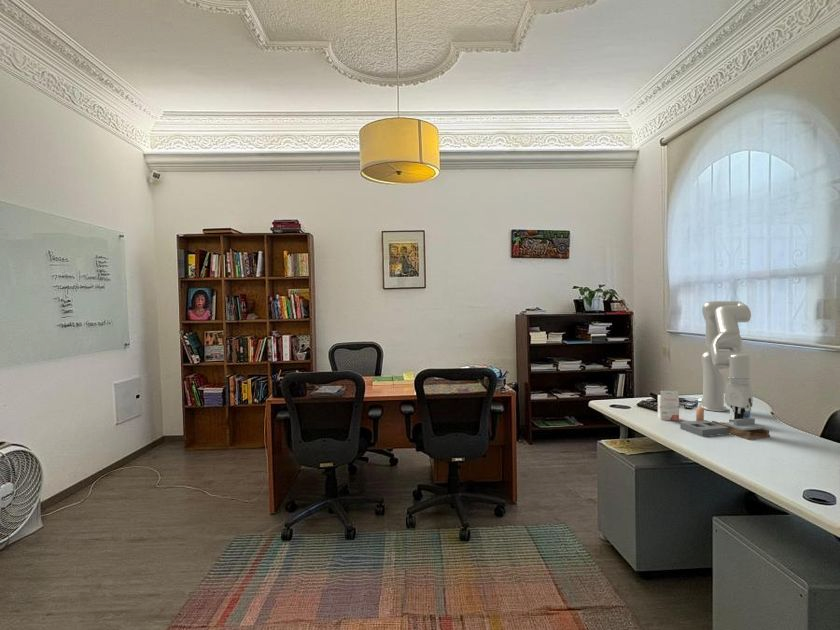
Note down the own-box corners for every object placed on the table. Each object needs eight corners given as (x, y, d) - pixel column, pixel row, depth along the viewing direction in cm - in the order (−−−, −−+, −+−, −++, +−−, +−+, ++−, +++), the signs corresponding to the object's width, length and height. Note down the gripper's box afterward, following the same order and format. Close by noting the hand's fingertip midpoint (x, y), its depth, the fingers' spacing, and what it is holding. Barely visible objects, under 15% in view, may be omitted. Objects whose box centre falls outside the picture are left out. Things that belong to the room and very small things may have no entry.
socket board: (680, 428, 200) (680, 422, 200) (705, 426, 203) (705, 420, 203) (702, 436, 189) (702, 429, 188) (728, 434, 192) (728, 427, 191)
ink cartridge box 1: (675, 418, 218) (676, 389, 217) (679, 420, 213) (679, 391, 212) (657, 417, 220) (657, 388, 219) (660, 419, 215) (660, 390, 214)
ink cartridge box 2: (751, 426, 202) (751, 396, 201) (737, 425, 204) (737, 395, 203) (742, 420, 211) (742, 391, 211) (729, 420, 213) (729, 391, 213)
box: (710, 427, 202) (710, 421, 201) (731, 425, 204) (731, 419, 204) (747, 439, 184) (747, 432, 184) (769, 437, 187) (770, 430, 186)
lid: (724, 424, 195) (724, 417, 195) (744, 422, 197) (744, 415, 197) (743, 430, 186) (743, 422, 186) (764, 428, 189) (764, 420, 188)
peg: (694, 423, 207) (694, 407, 207) (699, 423, 208) (700, 407, 208) (699, 425, 204) (700, 409, 204) (705, 425, 205) (705, 408, 205)
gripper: (717, 378, 200) (717, 417, 201) (748, 384, 185) (747, 426, 186) (730, 377, 202) (730, 416, 202) (762, 383, 187) (761, 425, 188)
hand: (738, 421), depth 194 cm, fingers closed
